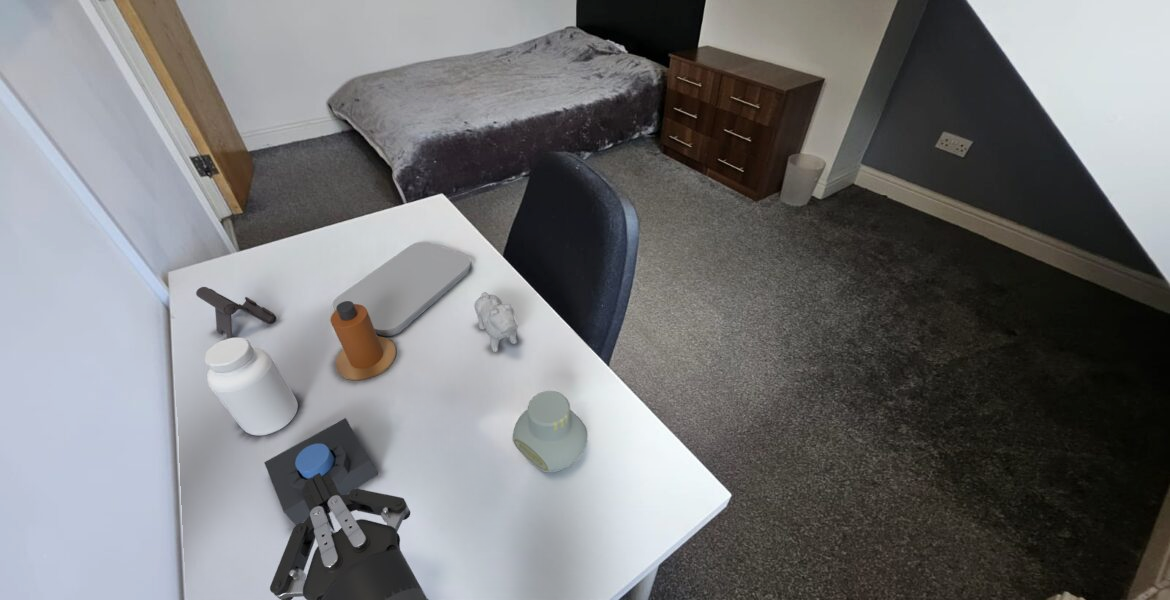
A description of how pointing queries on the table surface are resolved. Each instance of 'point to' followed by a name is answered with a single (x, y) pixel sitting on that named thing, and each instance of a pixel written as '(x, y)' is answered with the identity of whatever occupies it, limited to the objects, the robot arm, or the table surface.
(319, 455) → the blue push button
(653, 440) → the table surface
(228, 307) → the tablet stand
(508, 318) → the grey animal figurine
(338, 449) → the dark grey button base
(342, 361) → the coaster
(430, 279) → the tablet
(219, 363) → the pill bottle
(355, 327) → the bottle
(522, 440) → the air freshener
